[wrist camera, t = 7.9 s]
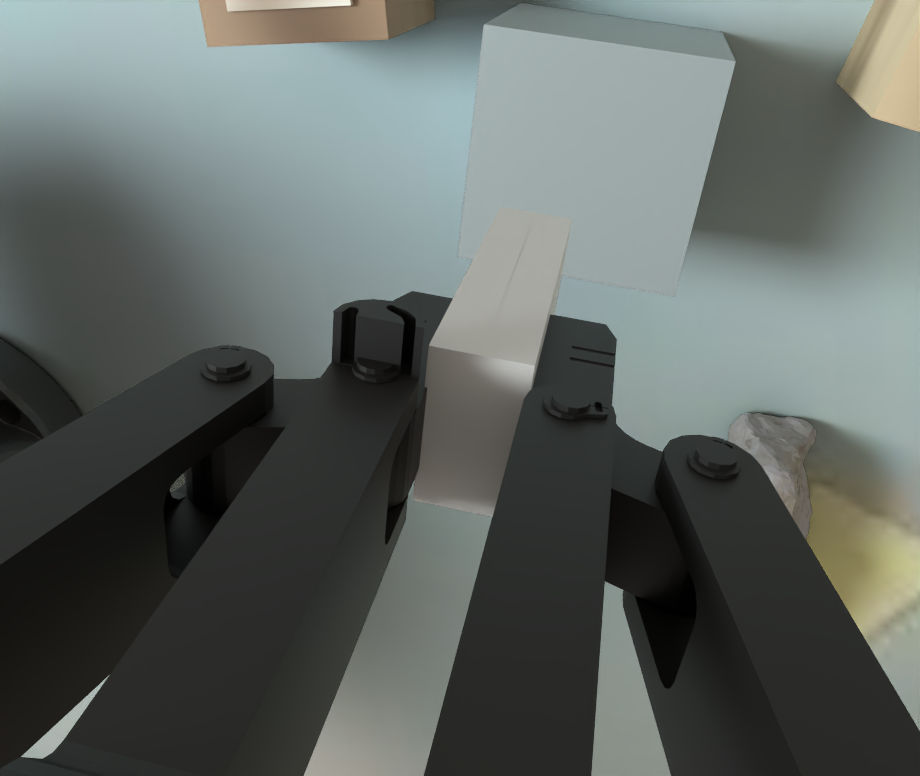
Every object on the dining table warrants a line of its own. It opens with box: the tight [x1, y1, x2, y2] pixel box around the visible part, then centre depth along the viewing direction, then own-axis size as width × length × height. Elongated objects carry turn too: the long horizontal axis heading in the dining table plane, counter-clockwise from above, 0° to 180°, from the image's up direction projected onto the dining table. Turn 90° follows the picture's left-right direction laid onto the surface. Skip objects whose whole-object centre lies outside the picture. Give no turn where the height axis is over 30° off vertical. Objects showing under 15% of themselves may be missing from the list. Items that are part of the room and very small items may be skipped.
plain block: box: [457, 3, 736, 297], centre depth 28 cm, size 7×7×7 cm
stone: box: [728, 412, 816, 539], centre depth 35 cm, size 10×8×6 cm
